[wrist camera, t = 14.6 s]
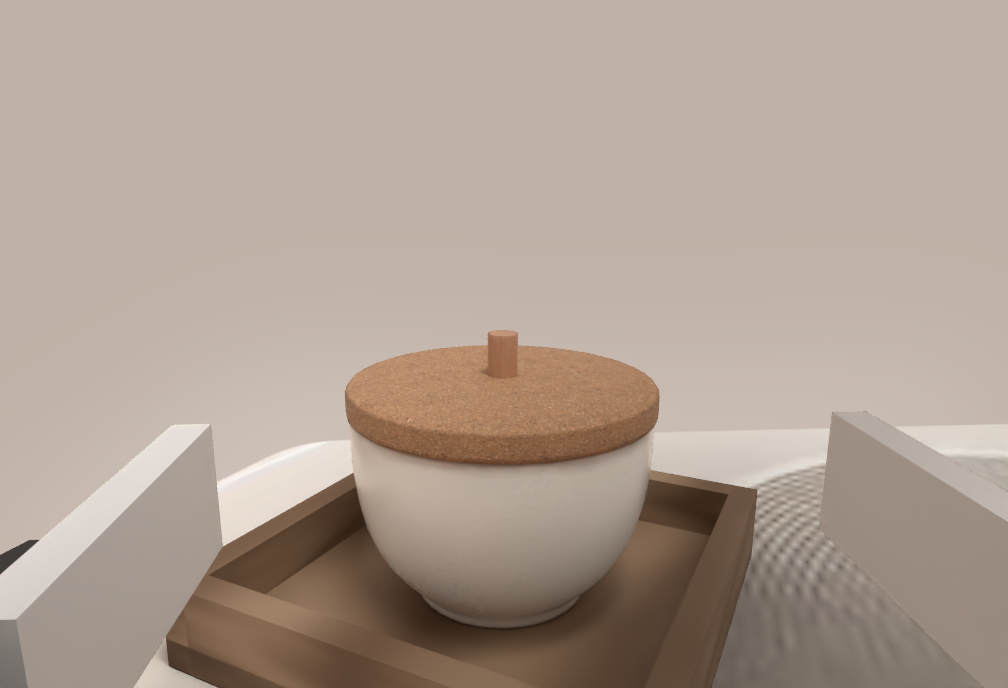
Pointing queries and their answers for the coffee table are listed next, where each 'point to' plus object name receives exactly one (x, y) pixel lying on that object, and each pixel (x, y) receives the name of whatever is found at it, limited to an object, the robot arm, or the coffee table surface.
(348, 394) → the lidded jar
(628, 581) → the walnut tray
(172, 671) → the coffee table surface
